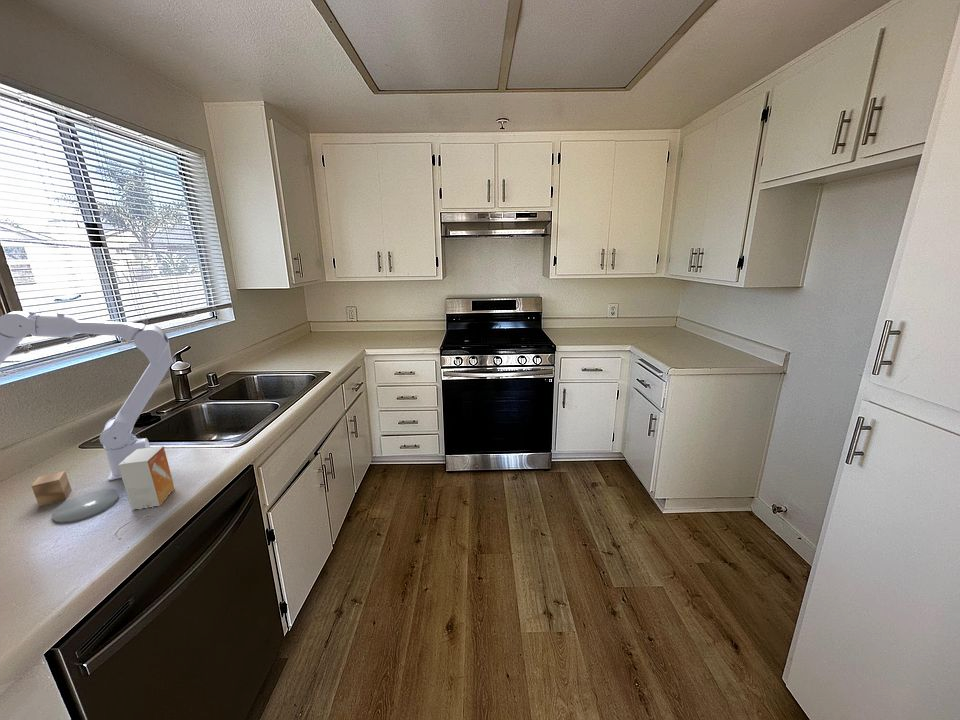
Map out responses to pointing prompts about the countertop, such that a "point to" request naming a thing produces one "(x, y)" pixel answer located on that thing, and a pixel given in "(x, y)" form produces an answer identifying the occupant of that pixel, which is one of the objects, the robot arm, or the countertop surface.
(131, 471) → the small box
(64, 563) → the countertop surface
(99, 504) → the slate dish
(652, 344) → the countertop surface
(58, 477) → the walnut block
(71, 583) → the countertop surface
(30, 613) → the countertop surface
